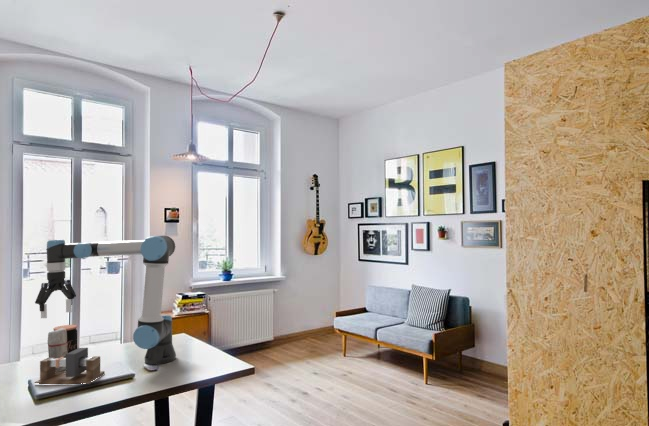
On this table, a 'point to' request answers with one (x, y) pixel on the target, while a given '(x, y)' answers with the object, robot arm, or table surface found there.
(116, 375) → the table surface
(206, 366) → the table surface
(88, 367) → the pipe stand
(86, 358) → the light grey long bar
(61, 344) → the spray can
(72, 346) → the coffee jar
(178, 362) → the table surface
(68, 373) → the tall grey notched block
